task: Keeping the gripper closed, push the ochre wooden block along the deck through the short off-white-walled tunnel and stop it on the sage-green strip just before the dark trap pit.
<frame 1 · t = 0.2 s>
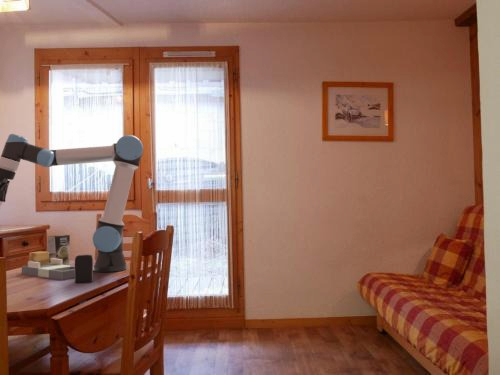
block: (39, 265, 190), point 3 cm above the table, touching tunnel deck
coffee box: (58, 267, 206), on the table
tunnel deck: (45, 273, 187), on the table
battery charger: (83, 282, 166), on the table
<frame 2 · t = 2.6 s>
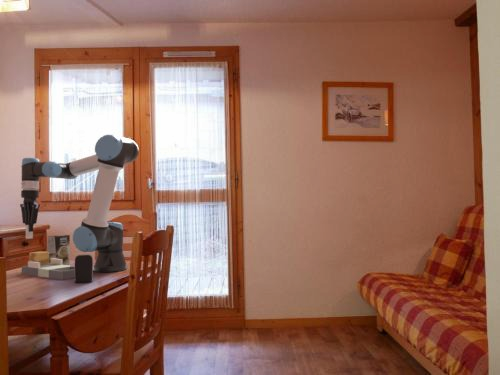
hand: (29, 238, 195), 16 cm above the table, tool pointing down, fingers closed
nothing on the table moved.
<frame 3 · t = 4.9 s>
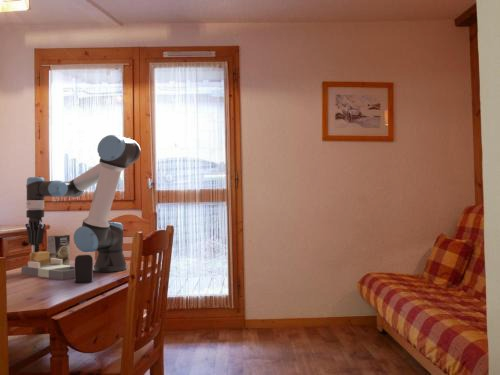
hand: (35, 258, 192), 6 cm above the table, tool pointing down, fingers closed
block: (39, 265, 190), point 4 cm above the table, touching gripper, tunnel deck
everything else where it was.
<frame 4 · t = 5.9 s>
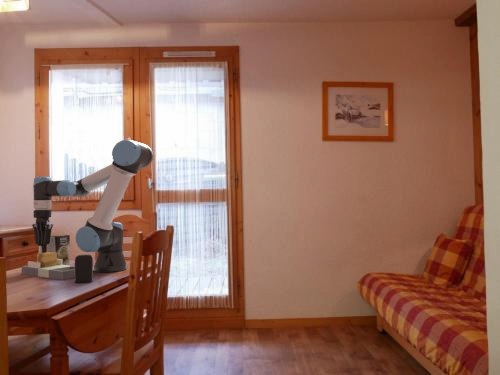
hand: (42, 259, 189), 6 cm above the table, tool pointing down, fingers closed
block: (46, 265, 187), point 4 cm above the table, touching gripper, tunnel deck
everything else where it was.
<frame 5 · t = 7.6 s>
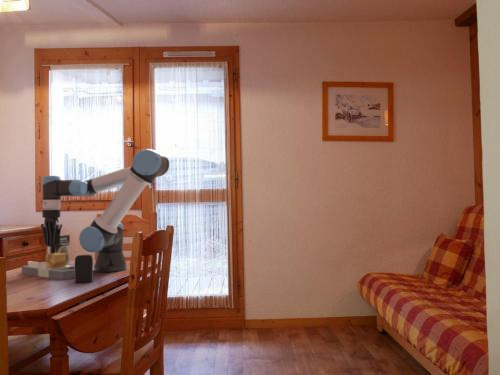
hand: (51, 260, 185), 6 cm above the table, tool pointing down, fingers closed
block: (55, 267, 183), point 3 cm above the table, touching tunnel deck
everything else where it was.
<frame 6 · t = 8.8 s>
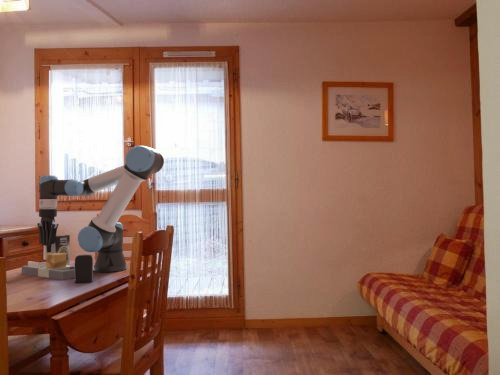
hand: (47, 259, 187), 7 cm above the table, tool pointing down, fingers closed
nothing on the table moved.
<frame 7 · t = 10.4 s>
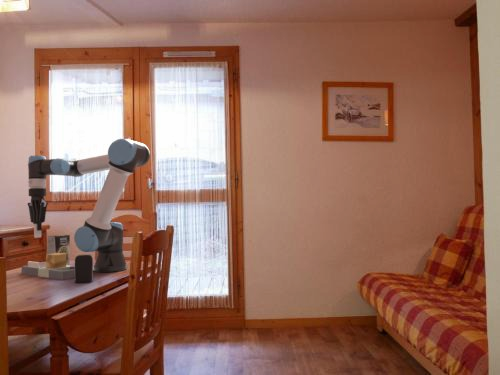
hand: (37, 237, 191), 16 cm above the table, tool pointing down, fingers closed
nothing on the table moved.
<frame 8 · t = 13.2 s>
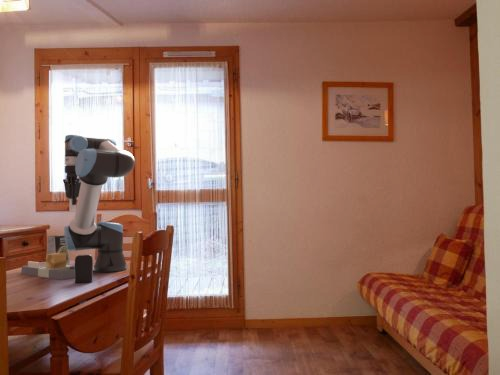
hand: (72, 211, 206), 28 cm above the table, tool pointing down, fingers closed
nothing on the table moved.
at the end: block 0.2 cm from the target spot on the tunnel deck, point 3.5 cm above the tunnel deck's base; block tilted 0° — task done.
